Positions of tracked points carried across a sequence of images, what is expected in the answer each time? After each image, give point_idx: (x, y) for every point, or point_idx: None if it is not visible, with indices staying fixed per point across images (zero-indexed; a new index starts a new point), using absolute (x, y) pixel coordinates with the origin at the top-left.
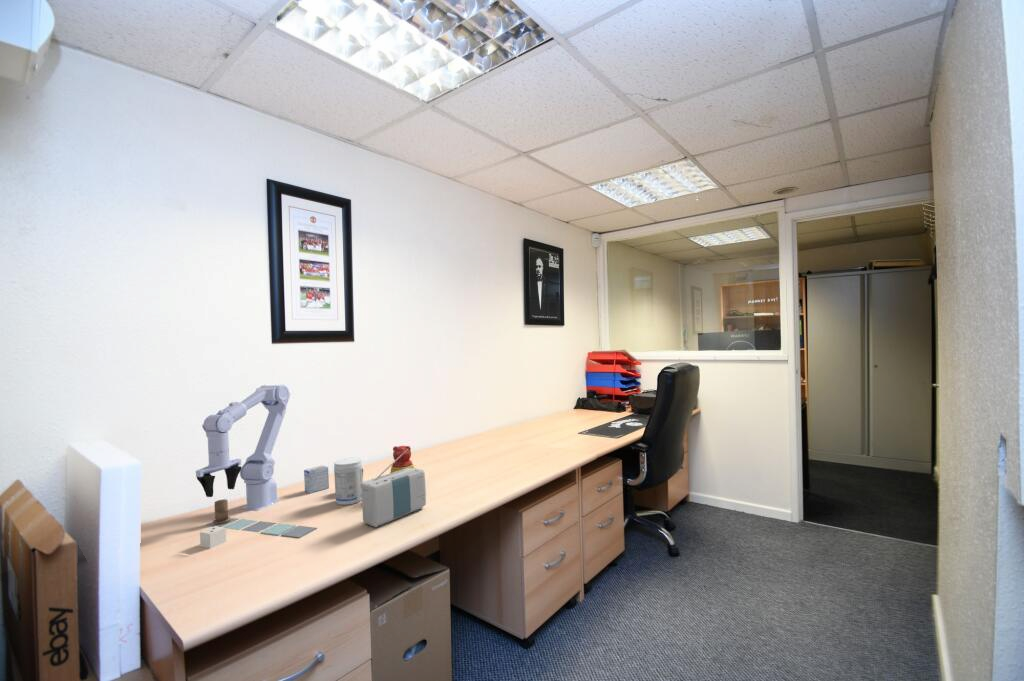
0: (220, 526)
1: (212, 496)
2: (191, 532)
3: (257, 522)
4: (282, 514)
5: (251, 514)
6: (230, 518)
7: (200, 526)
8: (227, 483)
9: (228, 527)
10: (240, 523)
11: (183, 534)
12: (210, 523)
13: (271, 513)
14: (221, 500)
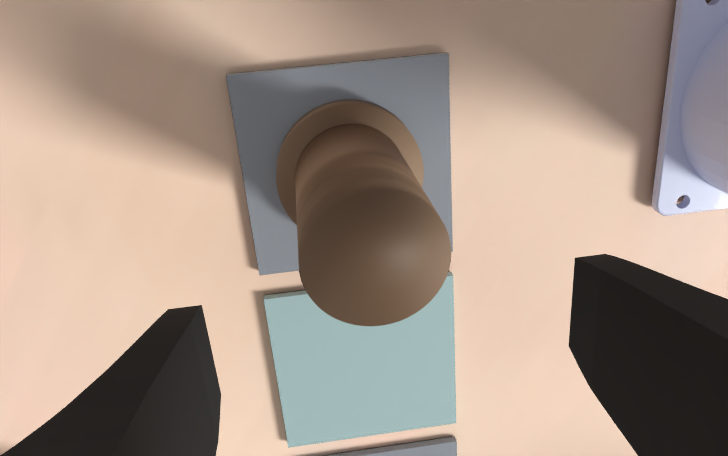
0: (273, 262)
1: (216, 393)
2: (81, 114)
3: (432, 445)
4: (612, 444)
5: (575, 226)
6: (438, 161)
7: (208, 39)
8: (630, 292)
9: (284, 345)
10: (378, 353)
11: (12, 86)
12: (281, 96)
13: None
14: (401, 234)
